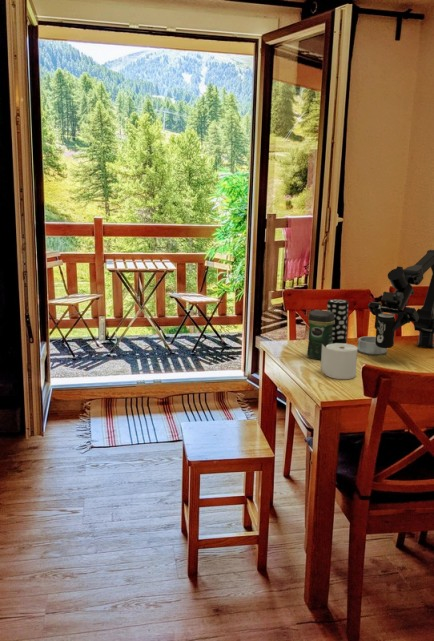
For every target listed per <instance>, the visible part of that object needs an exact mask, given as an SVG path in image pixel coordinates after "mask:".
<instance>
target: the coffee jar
mask: <svg viewBox="0 0 434 641" xmlns="http://www.w3.org/2000/svg"><path fill="white" fill-rule="evenodd" d="M334 322H335V319H334V313H333V312H331V311H327V310H322V309H313V310H310V311H309V313H308V324H309V333H308V343H307V354H306V355H307V357H308V358H310V359H314V360H320V361H321V353H322V344H323V345H324V346H325V347H326V346H327V345H329V344H333V340H332V329H333V325H334Z"/></svg>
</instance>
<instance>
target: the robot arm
mask: <svg viewBox="0 0 434 641" xmlns="http://www.w3.org/2000/svg"><path fill="white" fill-rule="evenodd" d="M429 269H431V273H432V275H431V278H430V282H429V285H428V289H427V292H426V295H425V299H424V302H423V306H422V307H421V308H417V310H416V308H415V307H409V306H408V305H409V303H408V301H409V299H410V297H411V296H412V295H414V294H415V291H414V287H413V286H419V285H420V284H421V283H422V281H423V280H424V275H425V274H426V272H427V271H428V270H429ZM387 279H388V280H389V282H390V284H391V286H392V288H393V289H395V290H394V292H390V291H383V292H382V297H381V300H380V301H383V302H384V305H385V306H382V304H381V302H377V301H370V302H369V303H368V305H367V308H368V309H369V311H370V313H371V314H372V315H373V316H375V320H374V329H375V330H376V325H377V318H378V315H379V314H393V315H396V317H397V318H395V323H394V325H393V327H392V329H391V331H392V332H394V331H397V330H399V328H401V327H403V326H405V325H406V324H411V322H412V323H413V327H414V331H418V342H417V344H416V347H418V348H419V347H420V348H429V349H434V249H429V250H427V251H426V253H425V254H424V255H423V256H422V257H421V258H420V259H419V260H418V261H417V262H416V263H415V264H413V265H411V266H407V267H405V268H404V267H403V266H396V268H394V269H391V270H390V271H388V273H387ZM394 333H395V332H394Z"/></svg>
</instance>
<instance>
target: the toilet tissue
mask: <svg viewBox="0 0 434 641" xmlns="http://www.w3.org/2000/svg"><path fill="white" fill-rule="evenodd" d="M357 348H358V346H356V345H354V344H350V343H346V344H343V343H334V344H329V345H327V346H326V347H325V346H324V345H323V344H322V353H321V360H320V369H321V370H320V371H322V373H323V374H324V375H325V376H327V377H328V378H329V377H330V378H332V379H335V380H348V379H349V380H350V379H354V378H355V377H356V376H357V361H358V351H357V350H358V349H357Z"/></svg>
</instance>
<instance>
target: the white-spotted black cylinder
mask: <svg viewBox="0 0 434 641" xmlns="http://www.w3.org/2000/svg"><path fill="white" fill-rule="evenodd" d="M326 304H327V306H326V311H331V312H333V313H334V319H335V322H334V325H333V329H332V340H333V344H334V343H343V344H347V342H348V341H347V340H348V338H347V336H348V318H349V301H348V300H345V299H339V298H336V299H335V298H334V299H328V300H327V301H326Z"/></svg>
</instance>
